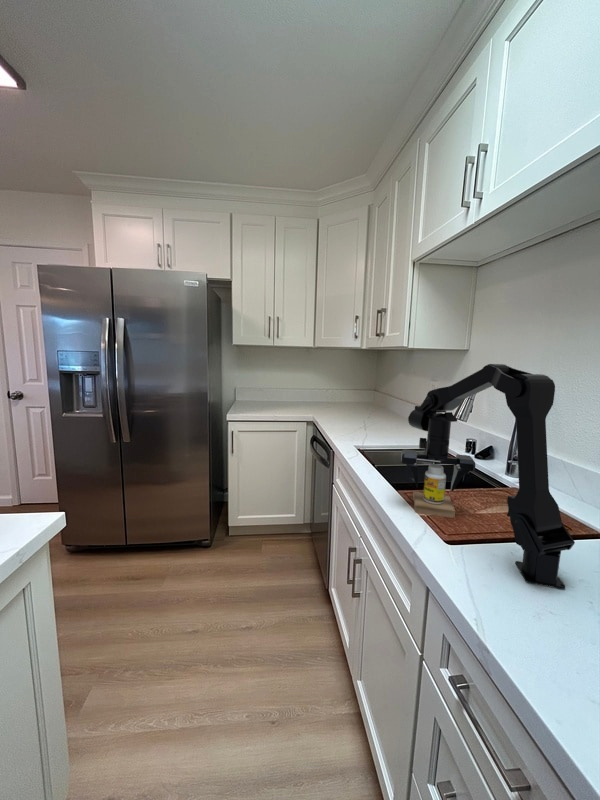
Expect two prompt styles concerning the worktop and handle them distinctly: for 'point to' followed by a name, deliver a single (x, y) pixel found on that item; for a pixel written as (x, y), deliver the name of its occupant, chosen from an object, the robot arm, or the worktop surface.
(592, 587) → the worktop surface
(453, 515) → the beige square slab
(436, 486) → the supplement bottle
